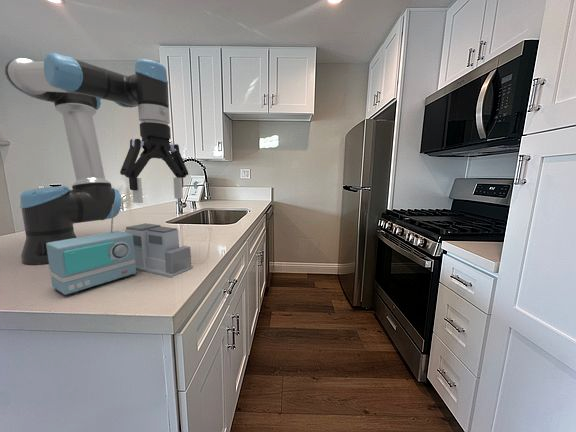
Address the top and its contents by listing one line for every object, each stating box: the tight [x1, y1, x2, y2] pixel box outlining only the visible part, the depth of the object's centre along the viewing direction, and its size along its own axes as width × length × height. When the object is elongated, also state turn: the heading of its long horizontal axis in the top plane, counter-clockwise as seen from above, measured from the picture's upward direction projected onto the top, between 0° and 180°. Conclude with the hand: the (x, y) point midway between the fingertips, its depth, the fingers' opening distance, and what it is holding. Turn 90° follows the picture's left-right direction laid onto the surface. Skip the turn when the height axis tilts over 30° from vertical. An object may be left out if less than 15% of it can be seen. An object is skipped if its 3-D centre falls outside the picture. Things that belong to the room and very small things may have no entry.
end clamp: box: [165, 245, 192, 274], centre depth 73 cm, size 2×7×6 cm, turn 157°
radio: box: [46, 204, 137, 296], centre depth 64 cm, size 16×9×20 cm, turn 148°
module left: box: [124, 223, 162, 267], centre depth 78 cm, size 7×8×12 cm
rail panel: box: [136, 256, 194, 278], centre depth 76 cm, size 20×8×4 cm, turn 67°
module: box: [147, 225, 180, 260], centre depth 75 cm, size 7×5×8 cm
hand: (160, 200), depth 73 cm, fingers open, 13 cm apart
